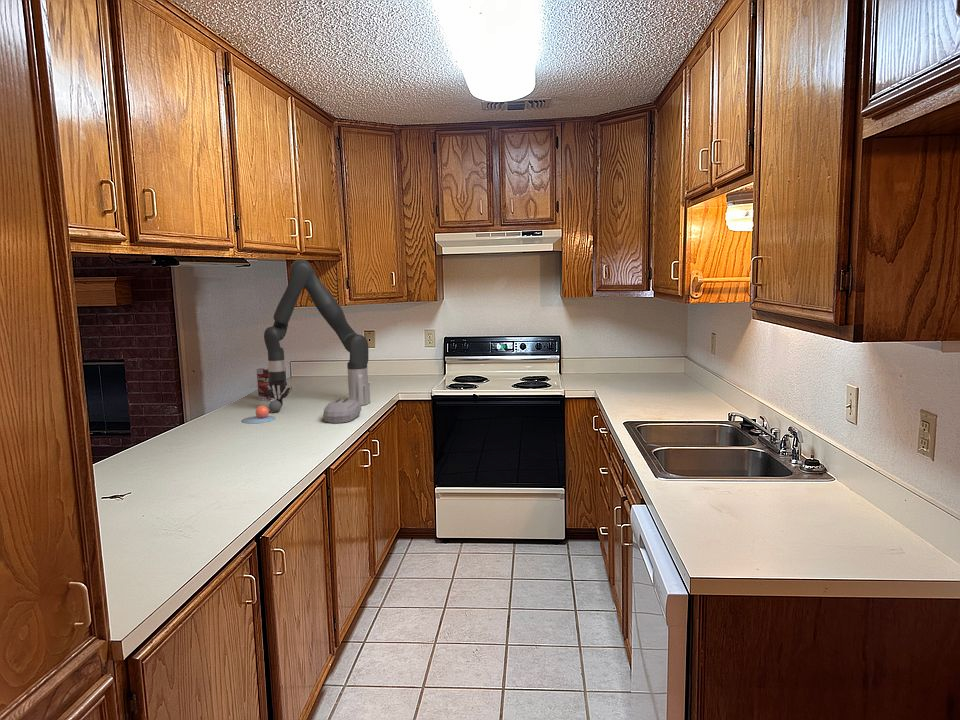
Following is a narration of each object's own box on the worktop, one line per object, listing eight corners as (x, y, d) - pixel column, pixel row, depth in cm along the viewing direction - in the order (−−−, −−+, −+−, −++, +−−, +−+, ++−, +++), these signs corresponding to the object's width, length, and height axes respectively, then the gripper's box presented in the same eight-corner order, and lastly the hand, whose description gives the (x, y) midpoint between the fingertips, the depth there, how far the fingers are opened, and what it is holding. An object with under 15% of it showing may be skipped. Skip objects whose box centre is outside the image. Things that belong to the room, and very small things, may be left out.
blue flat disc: (281, 416, 284) (281, 416, 284) (265, 423, 271) (265, 423, 270) (251, 415, 287) (251, 415, 287) (234, 423, 273) (234, 422, 273)
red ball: (267, 403, 280) (264, 415, 277) (272, 409, 285) (269, 420, 282) (255, 403, 281) (252, 414, 278) (260, 408, 285) (257, 420, 283)
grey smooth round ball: (279, 399, 291) (276, 410, 289) (284, 403, 296) (281, 414, 294) (268, 397, 292) (265, 409, 290) (274, 402, 297) (270, 413, 295)
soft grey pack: (332, 414, 288) (317, 424, 268) (331, 395, 286) (315, 405, 267) (365, 414, 286) (352, 424, 266) (364, 395, 285) (351, 404, 265)
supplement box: (258, 400, 323) (255, 369, 321) (265, 398, 327) (263, 367, 325) (270, 401, 319) (268, 369, 317) (278, 400, 323) (276, 368, 321)
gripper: (259, 371, 292) (261, 408, 294) (286, 371, 290) (289, 409, 292) (267, 368, 299) (270, 405, 302) (294, 368, 297) (296, 405, 299)
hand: (279, 407), depth 297 cm, fingers closed
